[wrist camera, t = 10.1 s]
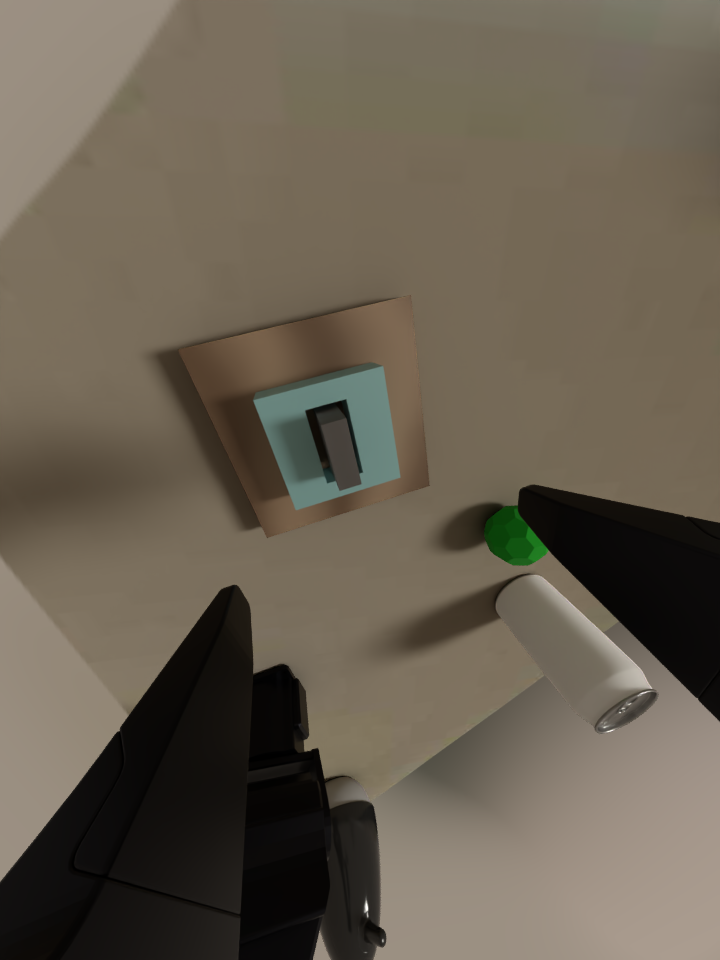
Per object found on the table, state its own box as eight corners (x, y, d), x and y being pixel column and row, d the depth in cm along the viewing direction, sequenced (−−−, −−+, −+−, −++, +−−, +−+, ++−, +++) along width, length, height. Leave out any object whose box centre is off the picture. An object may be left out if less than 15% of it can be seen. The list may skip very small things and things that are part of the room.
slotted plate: (294, 493, 19) (295, 510, 17) (255, 392, 16) (253, 400, 14) (389, 464, 20) (400, 477, 18) (372, 362, 16) (383, 365, 15)
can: (485, 617, 34) (577, 744, 23) (504, 574, 31) (618, 697, 21) (530, 610, 36) (634, 726, 25) (552, 569, 33) (679, 680, 22)
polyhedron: (470, 509, 26) (507, 544, 22) (520, 486, 26) (566, 517, 22) (477, 548, 28) (512, 586, 24) (523, 527, 28) (564, 561, 24)
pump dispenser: (380, 766, 45) (423, 945, 32) (343, 801, 48) (369, 980, 35) (324, 766, 41) (347, 976, 27) (287, 805, 43) (291, 1013, 30)
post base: (267, 525, 21) (264, 581, 16) (186, 347, 15) (145, 356, 11) (420, 476, 23) (459, 516, 18) (400, 297, 17) (449, 285, 12)
